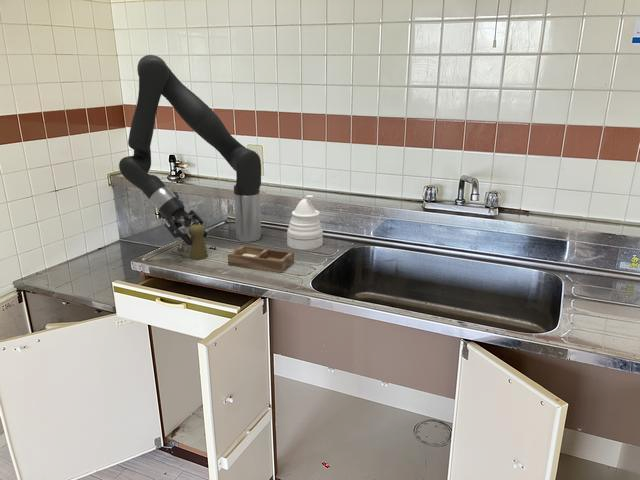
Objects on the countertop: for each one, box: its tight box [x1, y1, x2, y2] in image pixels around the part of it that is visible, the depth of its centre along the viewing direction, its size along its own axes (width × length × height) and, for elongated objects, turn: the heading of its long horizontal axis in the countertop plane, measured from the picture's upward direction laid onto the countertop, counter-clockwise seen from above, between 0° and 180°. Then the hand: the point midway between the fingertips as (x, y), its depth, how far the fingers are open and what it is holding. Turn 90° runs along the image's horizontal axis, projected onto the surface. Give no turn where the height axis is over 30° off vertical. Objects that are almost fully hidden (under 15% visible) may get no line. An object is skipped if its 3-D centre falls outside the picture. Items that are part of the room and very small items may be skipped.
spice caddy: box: [227, 244, 295, 274], centre depth 165 cm, size 10×19×4 cm, turn 70°
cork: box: [188, 224, 209, 261], centre depth 170 cm, size 6×6×11 cm
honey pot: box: [286, 194, 324, 251], centre depth 183 cm, size 13×13×18 cm
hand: (198, 240), depth 169 cm, fingers open, 8 cm apart
